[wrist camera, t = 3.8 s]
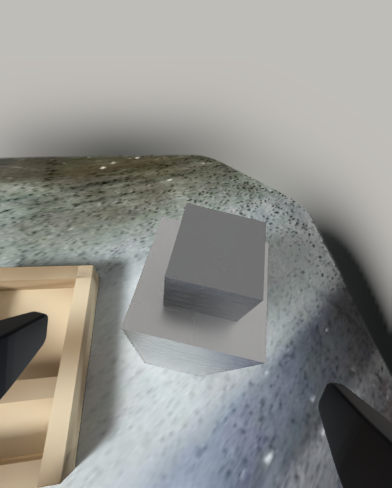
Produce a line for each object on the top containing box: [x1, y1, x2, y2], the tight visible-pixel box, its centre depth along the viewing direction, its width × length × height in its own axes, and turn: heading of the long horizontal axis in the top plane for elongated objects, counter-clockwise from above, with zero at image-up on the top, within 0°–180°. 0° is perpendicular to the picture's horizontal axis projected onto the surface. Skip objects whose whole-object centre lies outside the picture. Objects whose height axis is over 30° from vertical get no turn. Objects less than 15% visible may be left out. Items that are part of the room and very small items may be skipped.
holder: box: [0, 265, 100, 488], centre depth 14 cm, size 12×8×2 cm
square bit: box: [121, 203, 269, 376], centre depth 11 cm, size 4×4×14 cm
